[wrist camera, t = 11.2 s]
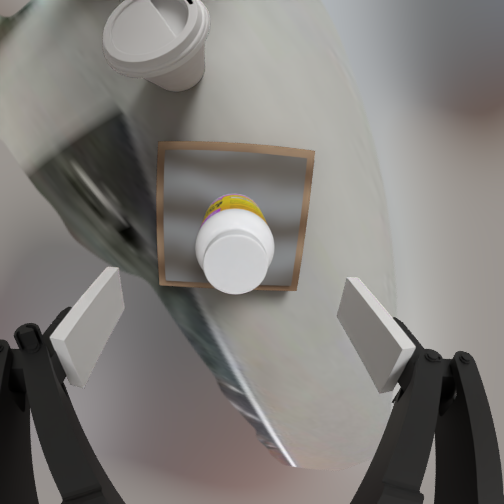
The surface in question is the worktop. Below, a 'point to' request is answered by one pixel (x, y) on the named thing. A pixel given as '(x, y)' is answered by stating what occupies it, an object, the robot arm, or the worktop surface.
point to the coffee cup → (158, 41)
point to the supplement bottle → (234, 244)
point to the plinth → (222, 183)
